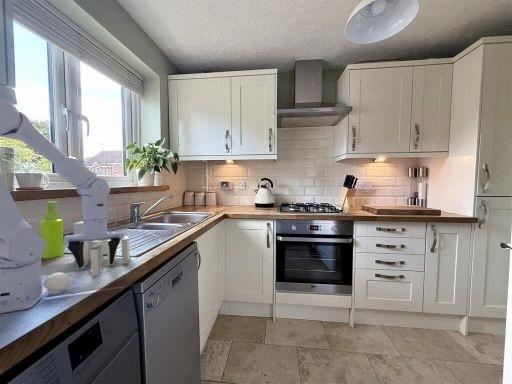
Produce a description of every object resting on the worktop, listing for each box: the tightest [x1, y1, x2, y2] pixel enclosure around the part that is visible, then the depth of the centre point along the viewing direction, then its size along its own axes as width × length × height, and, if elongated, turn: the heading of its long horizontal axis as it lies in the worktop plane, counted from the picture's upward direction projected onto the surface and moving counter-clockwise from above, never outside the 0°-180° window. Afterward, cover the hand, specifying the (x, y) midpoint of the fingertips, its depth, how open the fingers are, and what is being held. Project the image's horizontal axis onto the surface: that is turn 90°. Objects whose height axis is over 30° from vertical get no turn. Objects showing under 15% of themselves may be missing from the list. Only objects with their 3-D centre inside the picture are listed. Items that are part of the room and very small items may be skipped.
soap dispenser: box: [40, 200, 65, 259], centre depth 83 cm, size 6×7×20 cm
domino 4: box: [106, 239, 118, 265], centre depth 76 cm, size 5×2×8 cm, turn 21°
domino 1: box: [77, 241, 89, 269], centre depth 73 cm, size 5×2×8 cm, turn 21°
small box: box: [72, 220, 107, 261], centre depth 83 cm, size 8×6×13 cm
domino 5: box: [121, 235, 131, 264], centre depth 77 cm, size 5×2×8 cm, turn 21°
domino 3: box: [90, 244, 103, 277], centre depth 68 cm, size 5×2×8 cm, turn 21°
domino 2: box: [92, 240, 104, 262], centre depth 74 cm, size 5×2×8 cm, turn 21°
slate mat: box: [41, 256, 132, 277], centre depth 73 cm, size 9×24×1 cm, turn 111°
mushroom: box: [42, 272, 71, 296], centre depth 56 cm, size 5×5×5 cm
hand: (96, 264), depth 68 cm, fingers open, 7 cm apart
